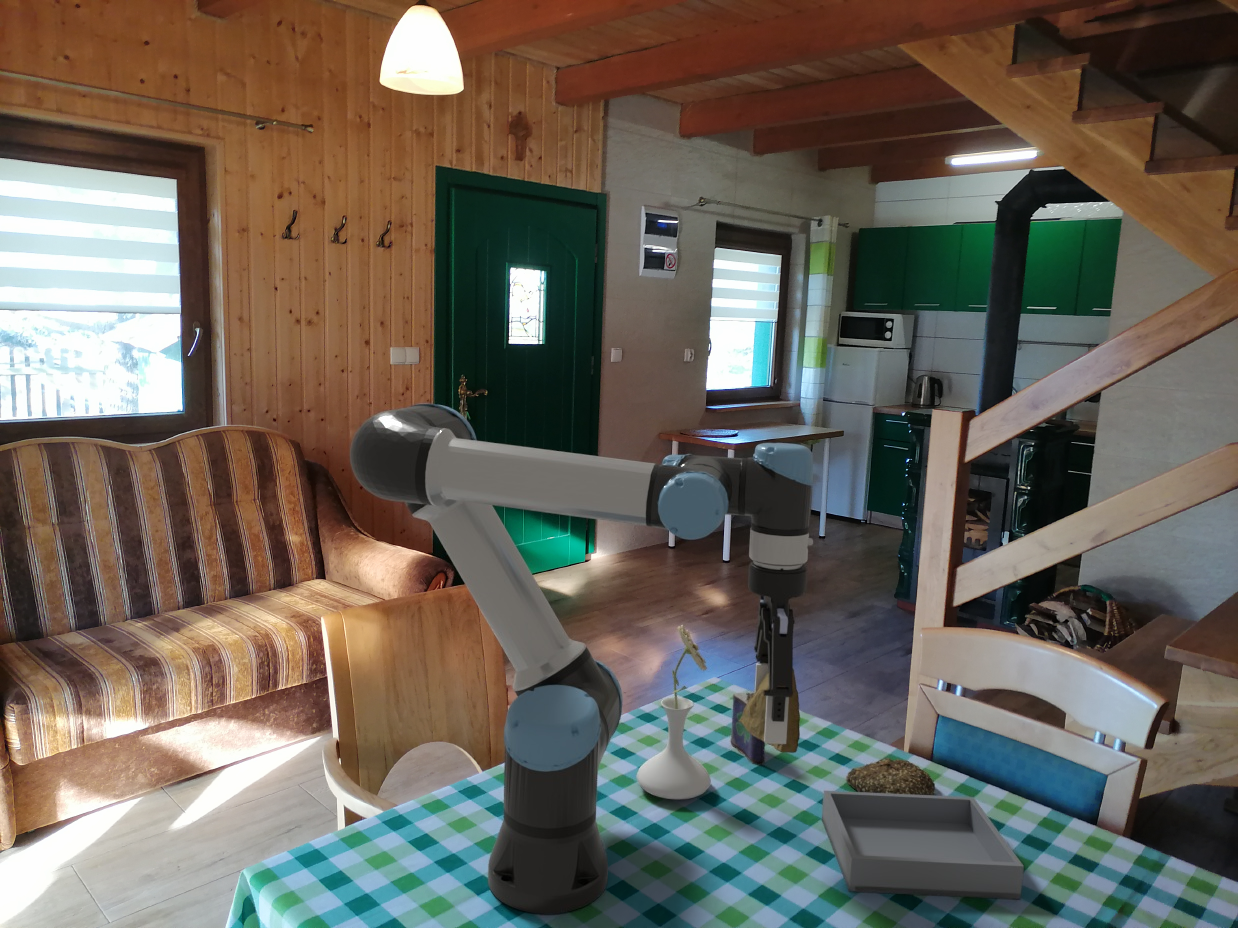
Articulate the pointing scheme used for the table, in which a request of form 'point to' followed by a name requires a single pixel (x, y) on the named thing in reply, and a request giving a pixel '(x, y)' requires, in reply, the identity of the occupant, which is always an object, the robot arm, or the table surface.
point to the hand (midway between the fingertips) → (769, 724)
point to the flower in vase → (676, 746)
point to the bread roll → (891, 778)
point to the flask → (745, 732)
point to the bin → (919, 845)
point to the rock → (757, 711)
